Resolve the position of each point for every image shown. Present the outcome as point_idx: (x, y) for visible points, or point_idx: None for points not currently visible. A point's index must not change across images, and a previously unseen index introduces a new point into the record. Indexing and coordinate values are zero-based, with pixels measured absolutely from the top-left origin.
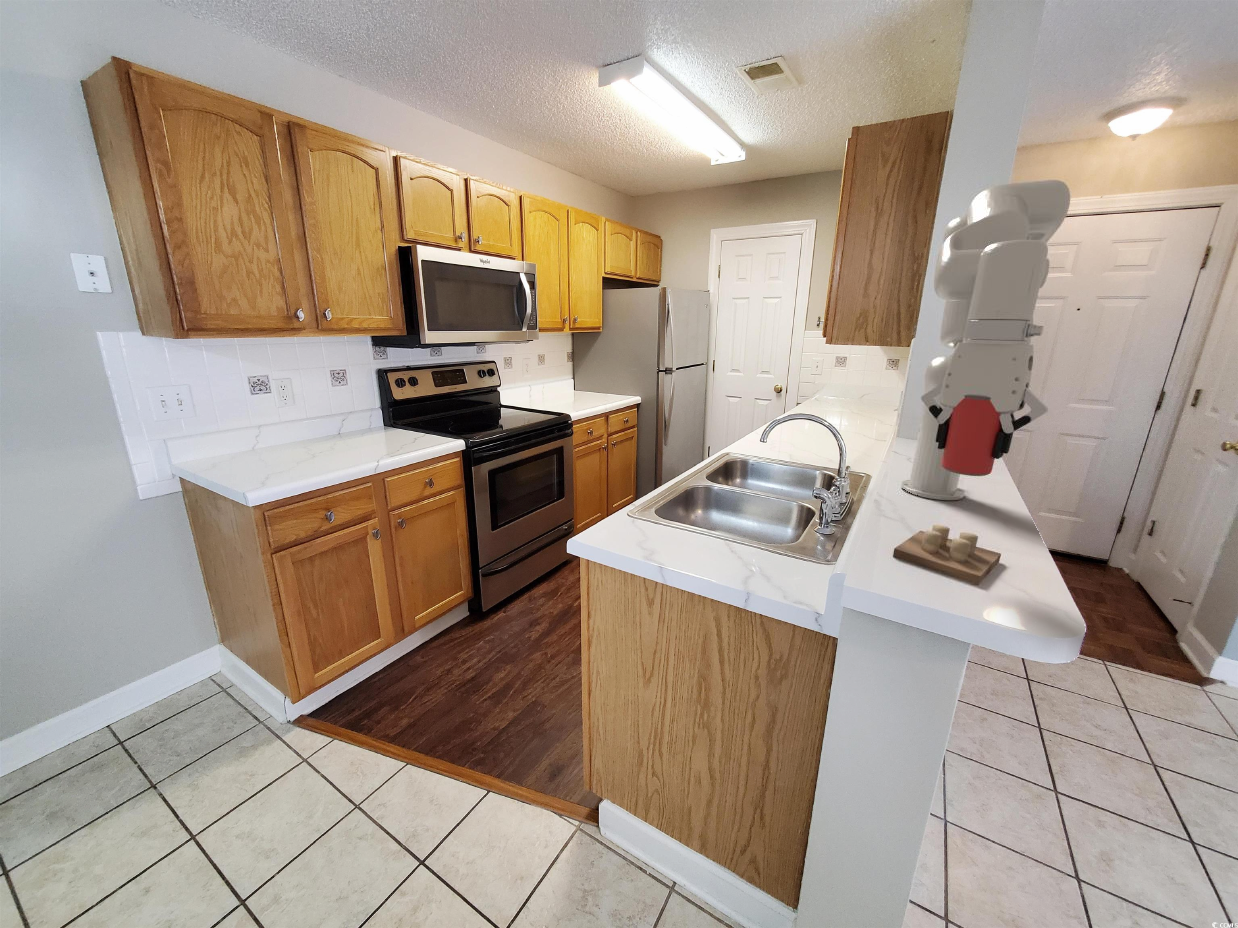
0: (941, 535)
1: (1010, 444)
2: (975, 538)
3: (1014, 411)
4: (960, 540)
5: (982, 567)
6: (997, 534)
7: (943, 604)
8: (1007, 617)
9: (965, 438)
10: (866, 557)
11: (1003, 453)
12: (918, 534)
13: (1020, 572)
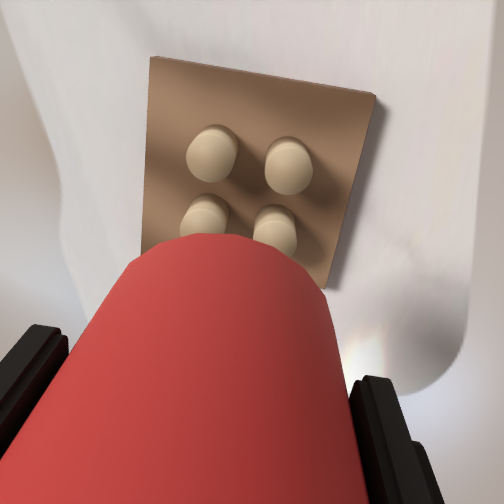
0: (223, 231)
1: (436, 486)
2: (306, 186)
3: None
4: (271, 236)
5: (328, 236)
6: None
7: None
8: (366, 368)
9: None
10: (106, 290)
11: (392, 386)
12: (155, 104)
13: (415, 131)
